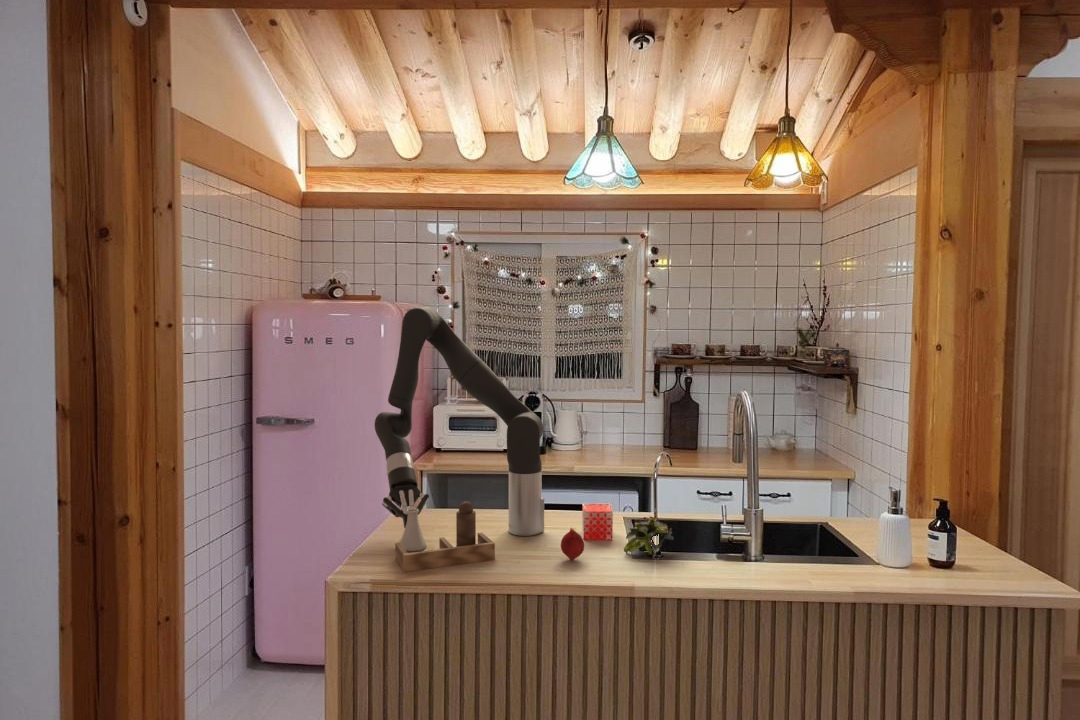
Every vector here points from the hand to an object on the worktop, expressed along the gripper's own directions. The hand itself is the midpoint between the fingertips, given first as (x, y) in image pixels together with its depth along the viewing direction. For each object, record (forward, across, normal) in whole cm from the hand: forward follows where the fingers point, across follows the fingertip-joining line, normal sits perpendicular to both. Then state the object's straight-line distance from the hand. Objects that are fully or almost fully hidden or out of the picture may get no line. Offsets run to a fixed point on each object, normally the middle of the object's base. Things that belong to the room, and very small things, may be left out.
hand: (410, 529), depth 183 cm
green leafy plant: (+24, +55, -18) cm, 62 cm away
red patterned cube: (+10, +50, -4) cm, 51 cm away
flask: (+5, 0, +2) cm, 5 cm away
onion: (+21, +35, -15) cm, 43 cm away
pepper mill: (+12, +11, -6) cm, 18 cm away
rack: (+12, +6, -6) cm, 15 cm away
